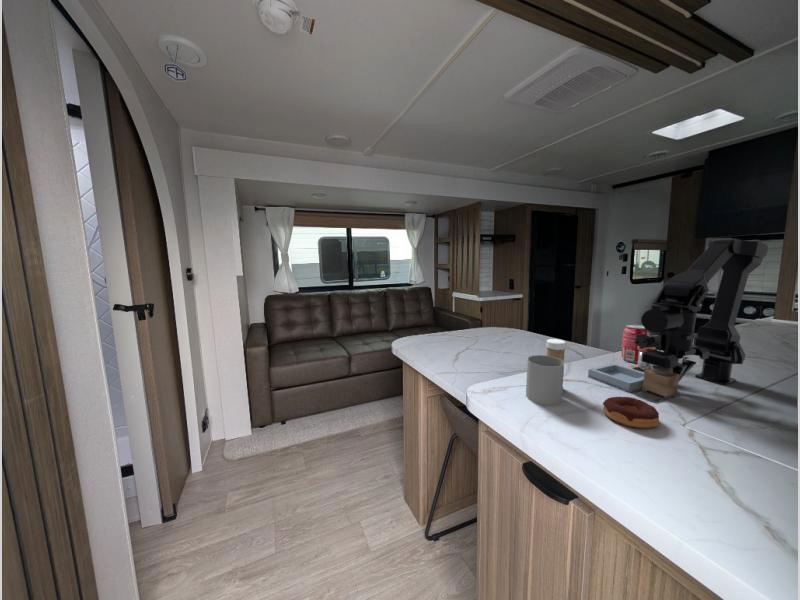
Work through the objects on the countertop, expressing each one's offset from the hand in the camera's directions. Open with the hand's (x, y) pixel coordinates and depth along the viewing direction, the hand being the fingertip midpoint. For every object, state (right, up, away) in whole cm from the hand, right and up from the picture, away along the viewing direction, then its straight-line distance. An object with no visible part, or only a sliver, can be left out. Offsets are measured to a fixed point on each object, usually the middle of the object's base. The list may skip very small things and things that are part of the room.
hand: (671, 385), depth 79 cm
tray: (-9, -1, +7) cm, 11 cm away
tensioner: (-5, -2, -2) cm, 6 cm away
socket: (0, 0, +9) cm, 9 cm away
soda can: (+8, +2, +23) cm, 24 cm away
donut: (-21, -4, -12) cm, 25 cm away
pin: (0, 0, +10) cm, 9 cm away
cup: (-35, -3, -2) cm, 35 cm away
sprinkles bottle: (-30, -2, +3) cm, 30 cm away
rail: (-6, -2, -2) cm, 6 cm away
